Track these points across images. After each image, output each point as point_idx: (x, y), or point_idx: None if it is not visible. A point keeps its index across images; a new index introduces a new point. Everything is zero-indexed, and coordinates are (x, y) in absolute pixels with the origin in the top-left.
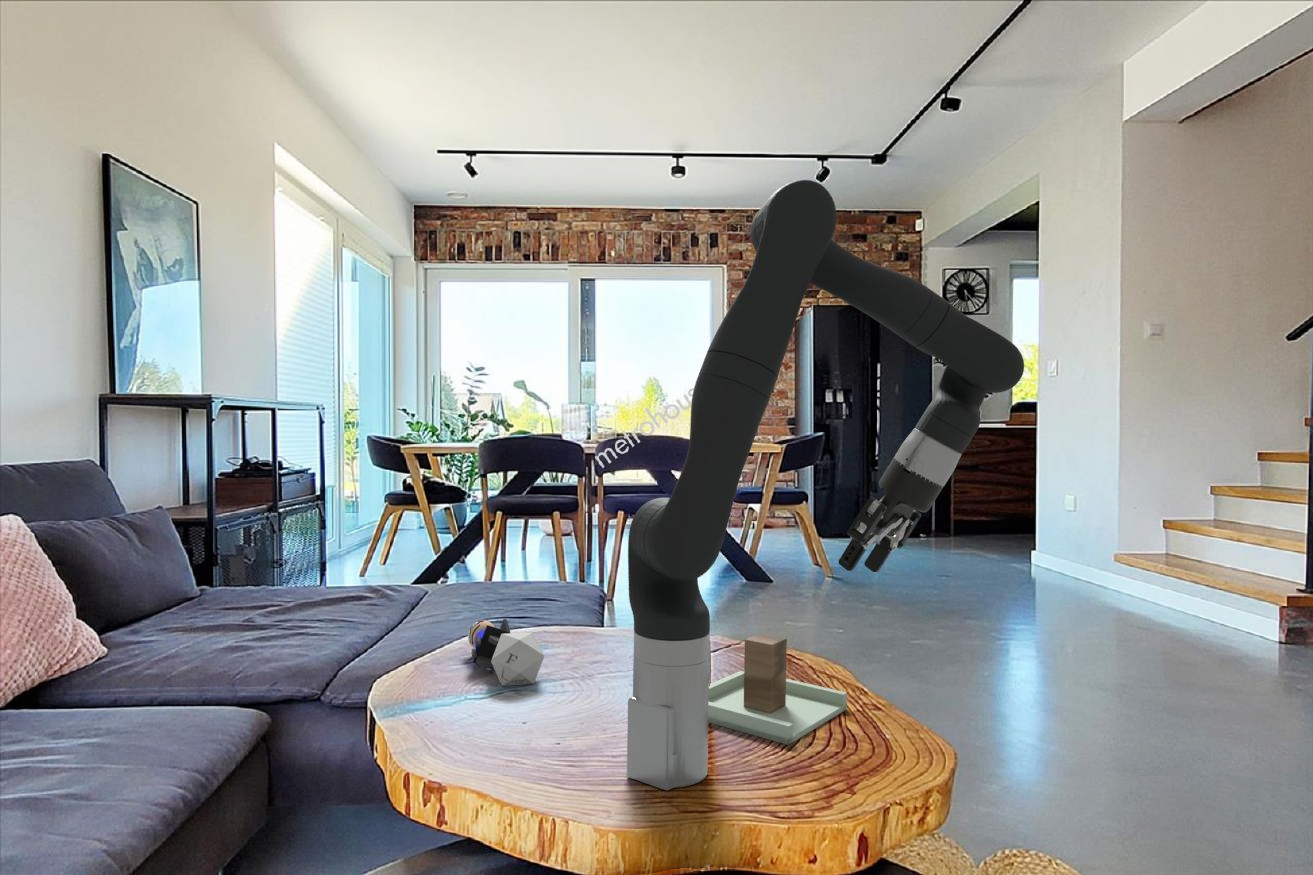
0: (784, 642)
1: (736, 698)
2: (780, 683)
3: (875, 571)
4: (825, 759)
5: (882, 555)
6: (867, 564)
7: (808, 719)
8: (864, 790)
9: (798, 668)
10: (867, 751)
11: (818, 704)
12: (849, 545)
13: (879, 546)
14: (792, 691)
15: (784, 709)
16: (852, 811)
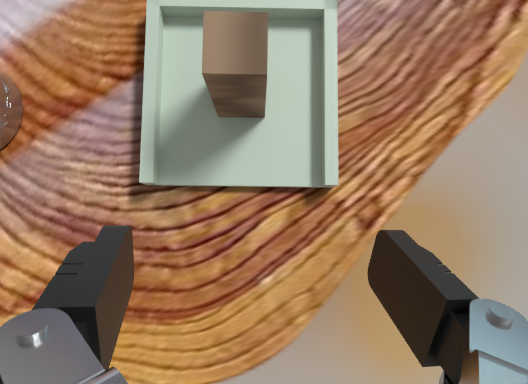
0: (257, 76)
1: None
2: (246, 104)
3: (369, 279)
4: (133, 246)
5: (408, 324)
6: (381, 243)
7: (233, 171)
8: None
9: (466, 39)
10: (194, 280)
11: (302, 154)
12: (38, 304)
13: (437, 314)
14: (322, 98)
15: (248, 124)
16: None
